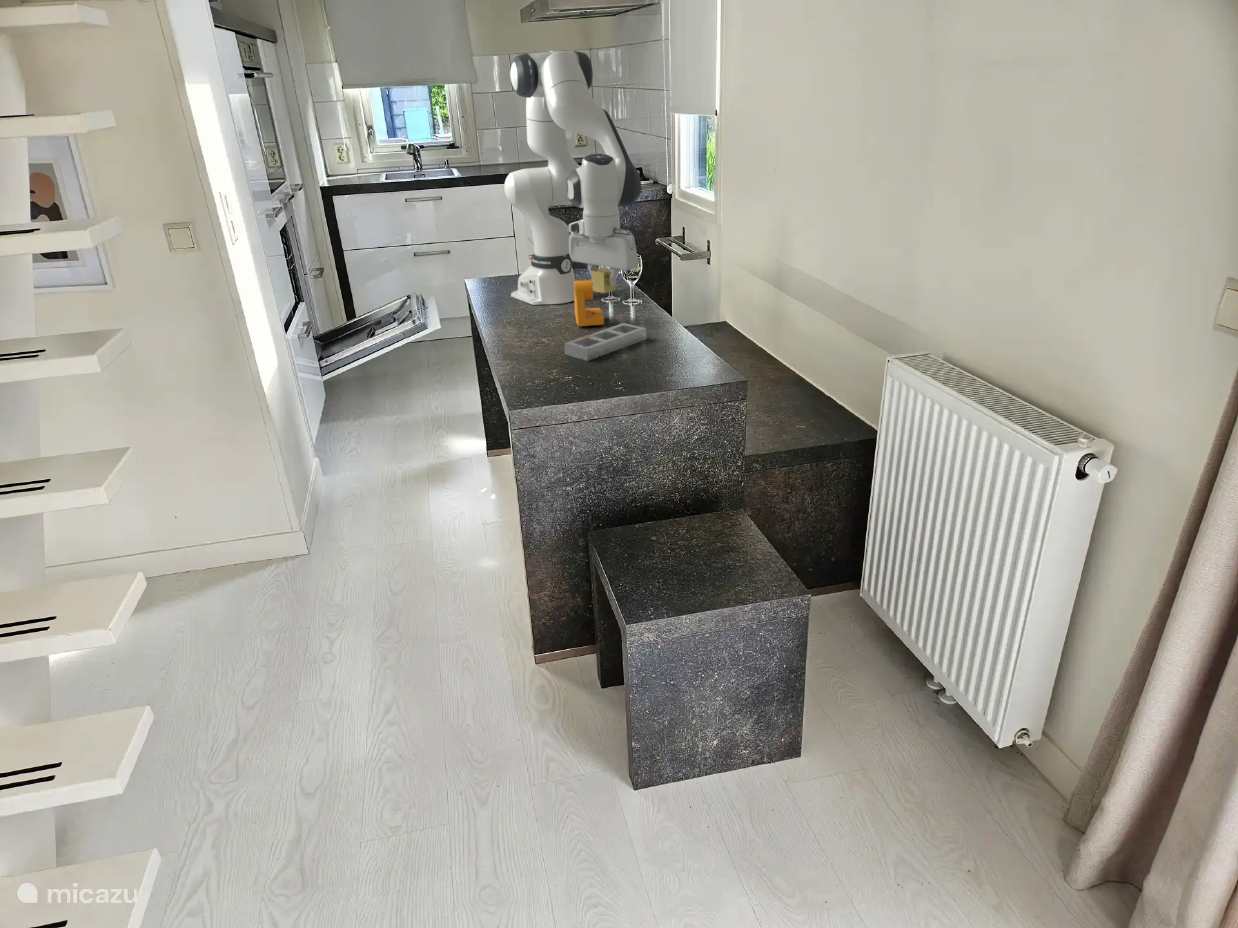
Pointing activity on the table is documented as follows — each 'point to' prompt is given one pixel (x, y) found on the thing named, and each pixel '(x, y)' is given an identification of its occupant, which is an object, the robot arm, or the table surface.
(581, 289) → the bracket
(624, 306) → the table surface
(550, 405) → the table surface
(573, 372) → the table surface
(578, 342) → the grey rectangular frame
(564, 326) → the table surface
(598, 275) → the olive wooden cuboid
